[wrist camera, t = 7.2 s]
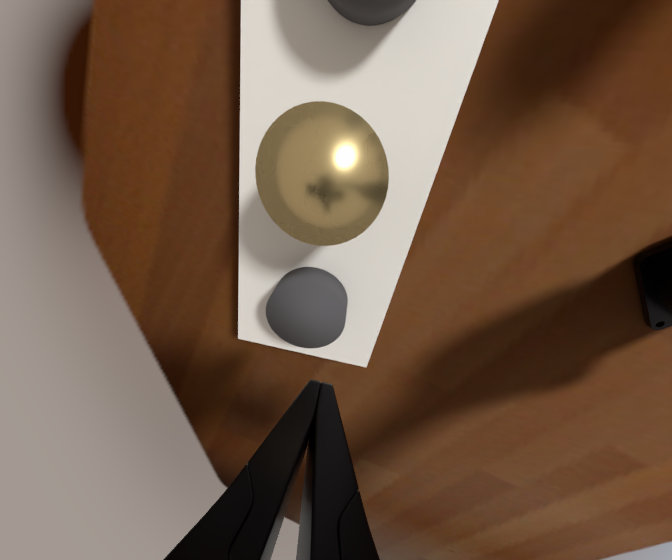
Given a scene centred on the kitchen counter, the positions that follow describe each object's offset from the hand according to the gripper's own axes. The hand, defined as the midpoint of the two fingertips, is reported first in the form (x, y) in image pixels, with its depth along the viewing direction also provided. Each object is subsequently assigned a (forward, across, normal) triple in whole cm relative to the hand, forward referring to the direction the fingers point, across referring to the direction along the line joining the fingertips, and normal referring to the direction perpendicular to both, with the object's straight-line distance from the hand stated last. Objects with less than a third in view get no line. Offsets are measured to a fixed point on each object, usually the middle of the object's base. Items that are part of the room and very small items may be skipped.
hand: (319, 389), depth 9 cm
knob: (+10, +2, +2) cm, 11 cm away
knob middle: (+8, +2, -7) cm, 10 cm away
